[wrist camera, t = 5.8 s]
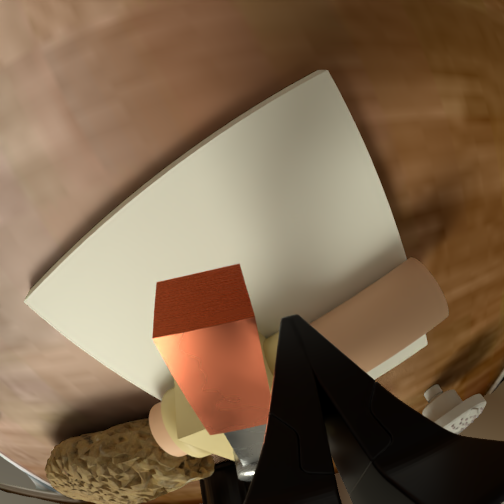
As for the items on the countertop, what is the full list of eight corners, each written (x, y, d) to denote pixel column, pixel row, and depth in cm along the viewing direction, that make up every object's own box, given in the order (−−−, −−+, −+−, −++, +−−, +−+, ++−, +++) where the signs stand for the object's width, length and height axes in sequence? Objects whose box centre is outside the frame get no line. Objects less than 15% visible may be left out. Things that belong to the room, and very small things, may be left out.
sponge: (145, 379, 21) (1, 445, 18) (179, 473, 15) (12, 514, 13) (212, 421, 30) (83, 473, 27) (242, 481, 25) (99, 526, 22)
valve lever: (282, 446, 15) (291, 476, 13) (237, 456, 15) (243, 487, 13) (247, 261, 8) (264, 314, 6) (149, 283, 8) (143, 339, 6)
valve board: (244, 433, 25) (257, 487, 21) (29, 290, 14) (-8, 370, 9) (421, 336, 23) (457, 386, 18) (318, 70, 11) (401, 73, 6)
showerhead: (505, 393, 22) (467, 434, 27) (473, 350, 28) (444, 396, 34) (446, 431, 21) (411, 466, 26) (414, 378, 27) (389, 421, 32)
